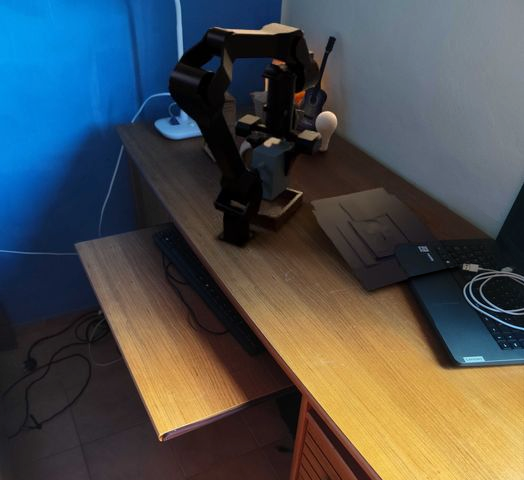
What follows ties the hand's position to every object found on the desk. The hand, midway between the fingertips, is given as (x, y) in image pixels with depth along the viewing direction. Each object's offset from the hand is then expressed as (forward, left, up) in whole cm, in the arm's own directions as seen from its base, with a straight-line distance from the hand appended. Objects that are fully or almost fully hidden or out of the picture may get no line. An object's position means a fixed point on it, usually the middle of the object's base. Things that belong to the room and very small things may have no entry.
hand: (275, 172), depth 106 cm
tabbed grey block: (-2, 0, -4) cm, 4 cm away
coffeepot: (+28, +15, -10) cm, 33 cm away
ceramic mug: (+16, +16, -10) cm, 25 cm away
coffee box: (+19, +27, -10) cm, 35 cm away
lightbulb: (+38, +3, -10) cm, 40 cm away
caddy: (0, 0, -10) cm, 10 cm away
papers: (+2, -26, -10) cm, 28 cm away
